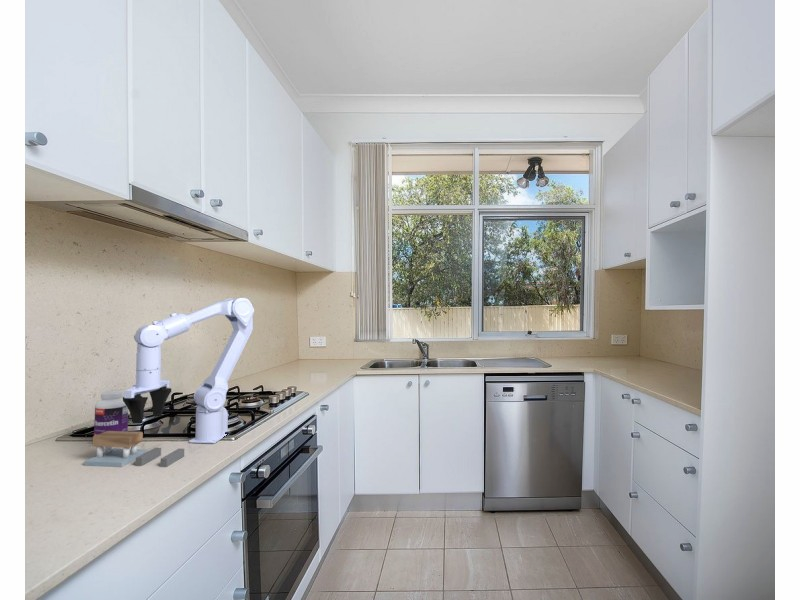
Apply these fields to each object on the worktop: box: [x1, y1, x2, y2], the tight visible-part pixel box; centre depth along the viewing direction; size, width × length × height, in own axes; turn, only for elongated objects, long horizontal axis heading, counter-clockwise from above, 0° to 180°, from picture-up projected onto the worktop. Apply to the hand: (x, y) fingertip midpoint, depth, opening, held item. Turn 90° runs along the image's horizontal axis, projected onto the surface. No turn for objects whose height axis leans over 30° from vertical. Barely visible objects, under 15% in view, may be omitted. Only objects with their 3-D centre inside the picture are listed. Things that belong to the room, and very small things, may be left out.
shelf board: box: [92, 431, 144, 448], centre depth 100 cm, size 4×10×2 cm, turn 86°
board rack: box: [135, 447, 185, 468], centre depth 100 cm, size 7×8×2 cm
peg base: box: [83, 444, 149, 468], centre depth 100 cm, size 9×10×4 cm
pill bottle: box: [93, 389, 129, 436], centre depth 114 cm, size 8×8×14 cm
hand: (148, 418), depth 105 cm, fingers open, 7 cm apart
